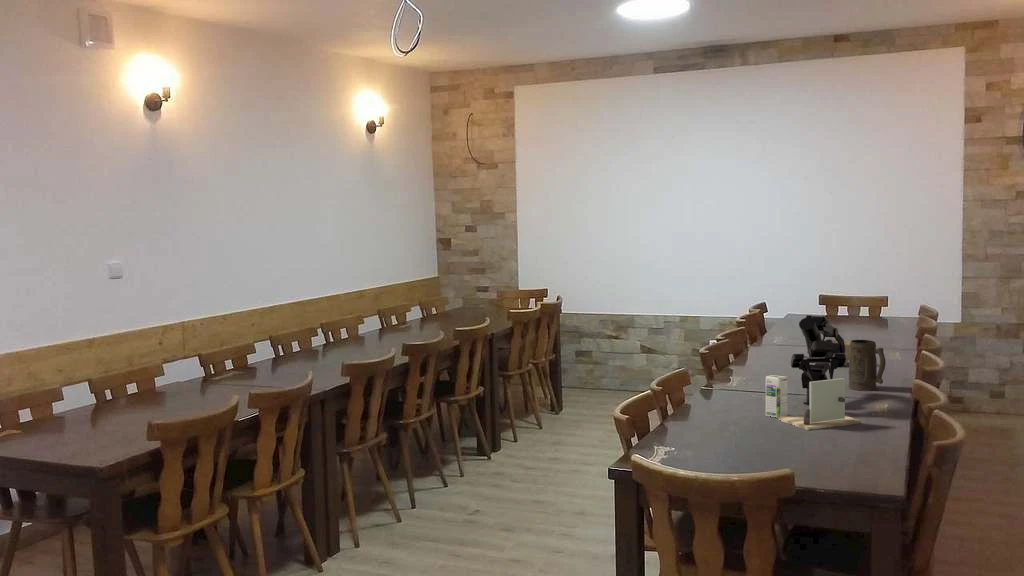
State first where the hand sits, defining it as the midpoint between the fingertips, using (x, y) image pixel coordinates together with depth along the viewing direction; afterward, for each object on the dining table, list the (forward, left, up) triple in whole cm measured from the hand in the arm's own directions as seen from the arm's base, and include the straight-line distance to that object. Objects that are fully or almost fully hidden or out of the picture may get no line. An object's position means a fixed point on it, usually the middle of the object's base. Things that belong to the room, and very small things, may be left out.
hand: (822, 379), depth 301 cm
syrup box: (-4, -16, -13) cm, 21 cm away
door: (+14, -8, -11) cm, 20 cm away
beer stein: (-27, +45, -13) cm, 54 cm away
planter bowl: (-77, +70, -13) cm, 105 cm away
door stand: (+9, -8, -13) cm, 17 cm away
